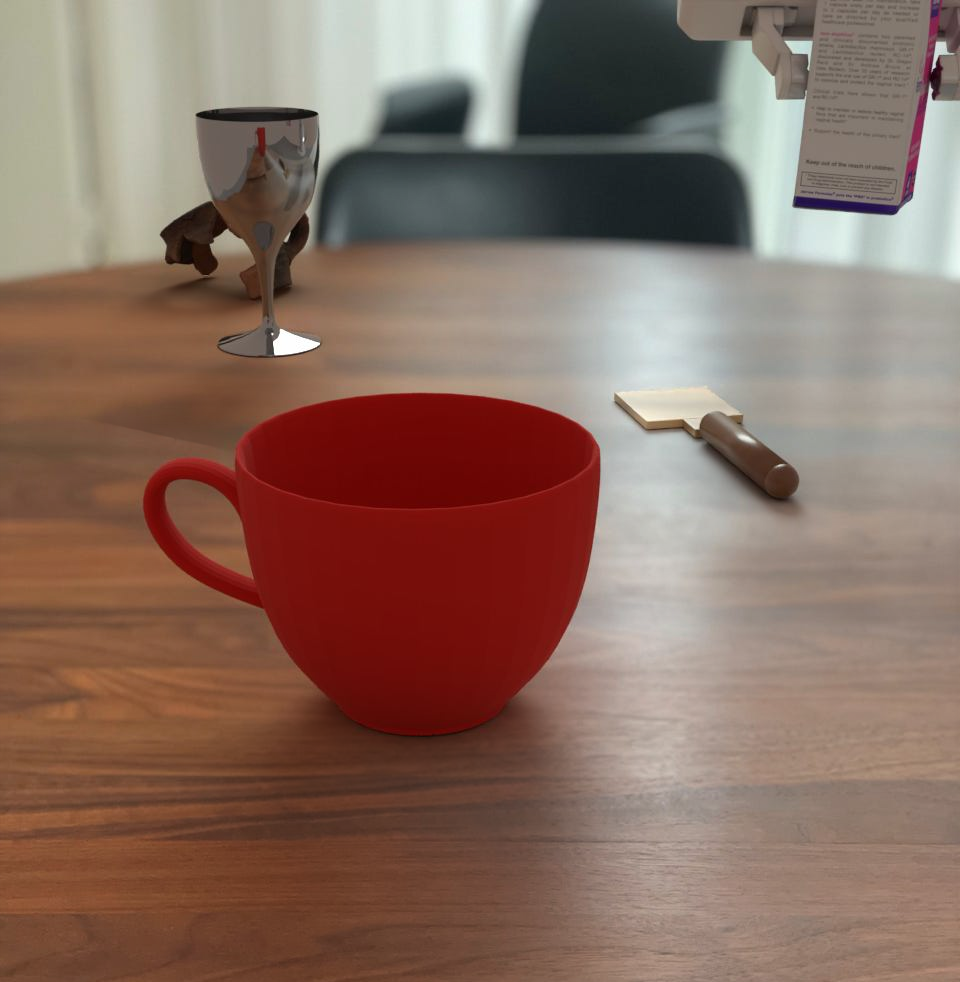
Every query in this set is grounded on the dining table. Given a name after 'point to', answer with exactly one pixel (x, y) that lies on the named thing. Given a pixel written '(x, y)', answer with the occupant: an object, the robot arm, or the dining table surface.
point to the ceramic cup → (406, 547)
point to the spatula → (712, 431)
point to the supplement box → (865, 104)
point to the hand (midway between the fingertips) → (872, 93)
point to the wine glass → (261, 199)
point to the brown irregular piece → (205, 223)
